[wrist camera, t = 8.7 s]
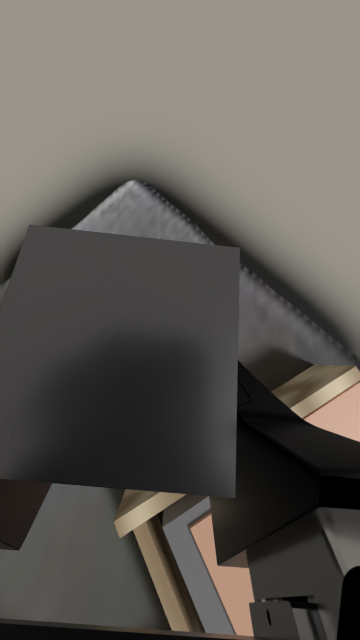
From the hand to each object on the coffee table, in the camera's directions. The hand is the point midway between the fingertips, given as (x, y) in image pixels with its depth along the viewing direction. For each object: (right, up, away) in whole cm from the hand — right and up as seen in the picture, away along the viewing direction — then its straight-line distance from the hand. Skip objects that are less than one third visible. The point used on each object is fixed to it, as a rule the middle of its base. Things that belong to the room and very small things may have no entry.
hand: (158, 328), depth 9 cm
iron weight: (0, -3, +6) cm, 7 cm away
